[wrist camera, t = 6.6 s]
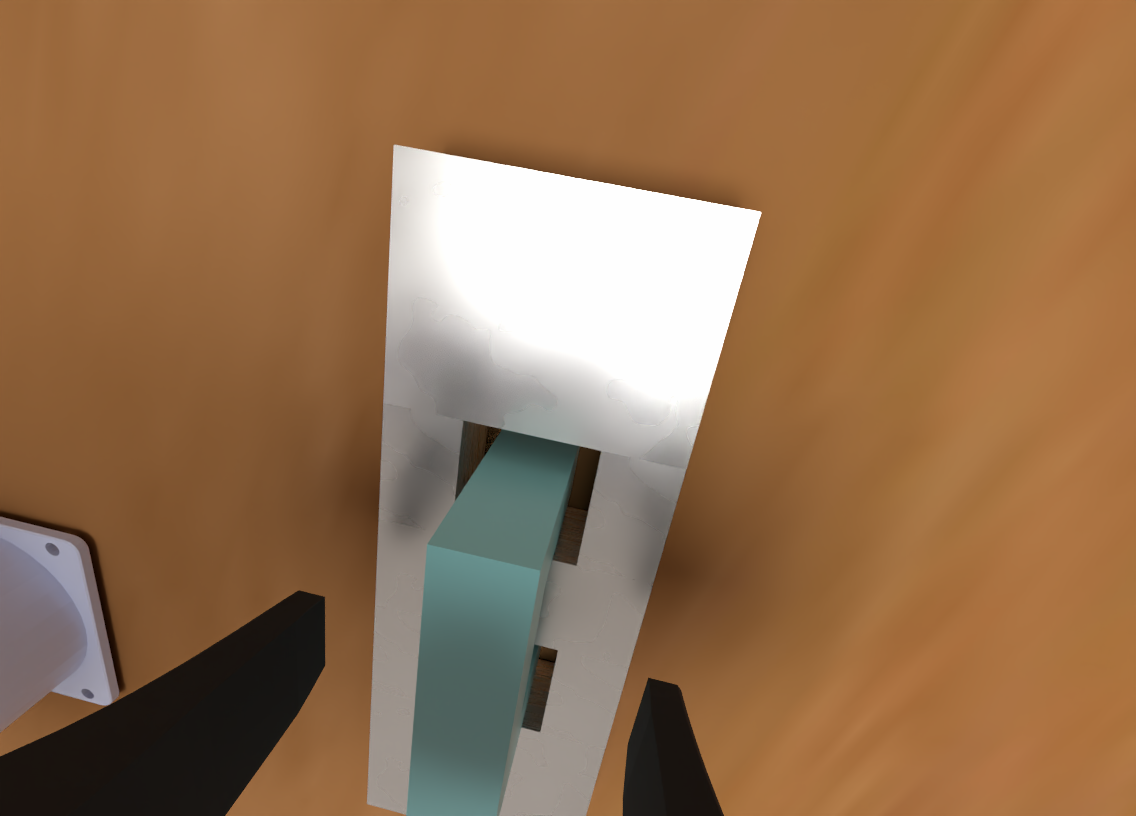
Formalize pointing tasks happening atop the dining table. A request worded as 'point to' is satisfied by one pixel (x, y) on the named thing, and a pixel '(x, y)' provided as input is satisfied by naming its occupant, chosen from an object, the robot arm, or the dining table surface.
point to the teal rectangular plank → (484, 624)
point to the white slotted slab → (542, 422)
